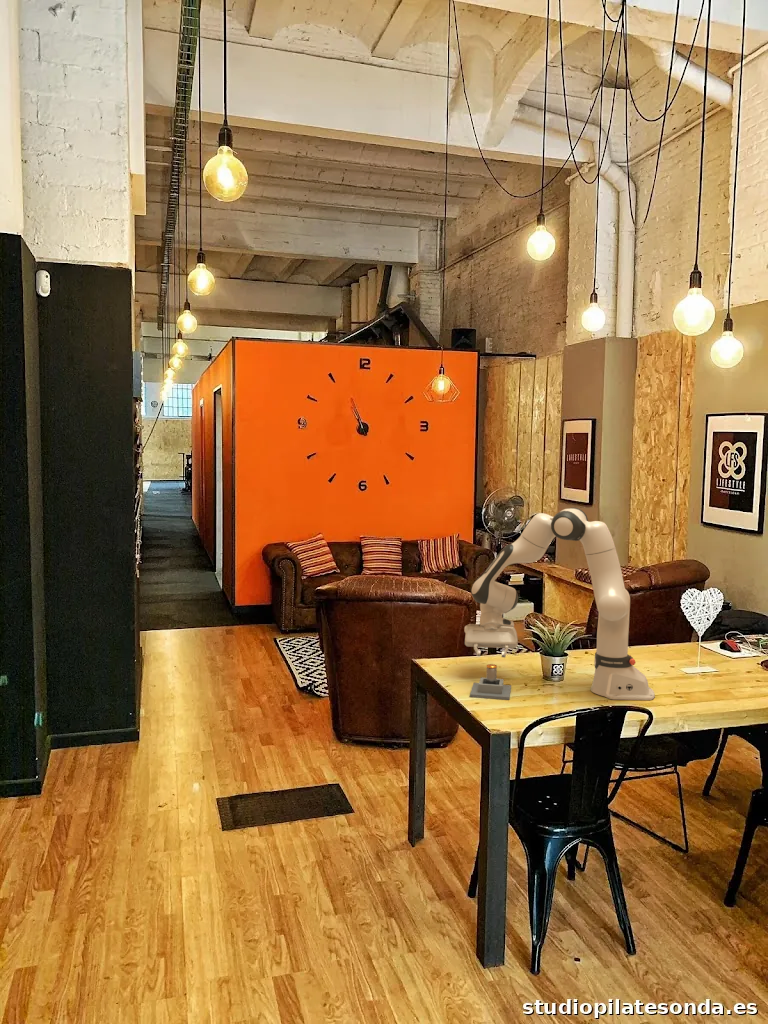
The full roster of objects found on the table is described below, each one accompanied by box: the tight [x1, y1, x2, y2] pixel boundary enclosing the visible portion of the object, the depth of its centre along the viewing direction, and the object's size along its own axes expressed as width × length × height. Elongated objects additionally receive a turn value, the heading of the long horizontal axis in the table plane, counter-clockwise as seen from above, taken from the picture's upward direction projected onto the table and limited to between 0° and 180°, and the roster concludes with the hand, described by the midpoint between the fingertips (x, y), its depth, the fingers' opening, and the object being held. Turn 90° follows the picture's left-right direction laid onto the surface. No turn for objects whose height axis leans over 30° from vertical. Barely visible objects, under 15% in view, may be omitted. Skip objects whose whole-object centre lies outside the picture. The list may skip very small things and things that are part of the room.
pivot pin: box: [486, 663, 498, 685], centre depth 283 cm, size 4×4×9 cm
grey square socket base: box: [469, 677, 512, 701], centre depth 283 cm, size 14×14×4 cm
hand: (491, 656), depth 294 cm, fingers open, 8 cm apart
